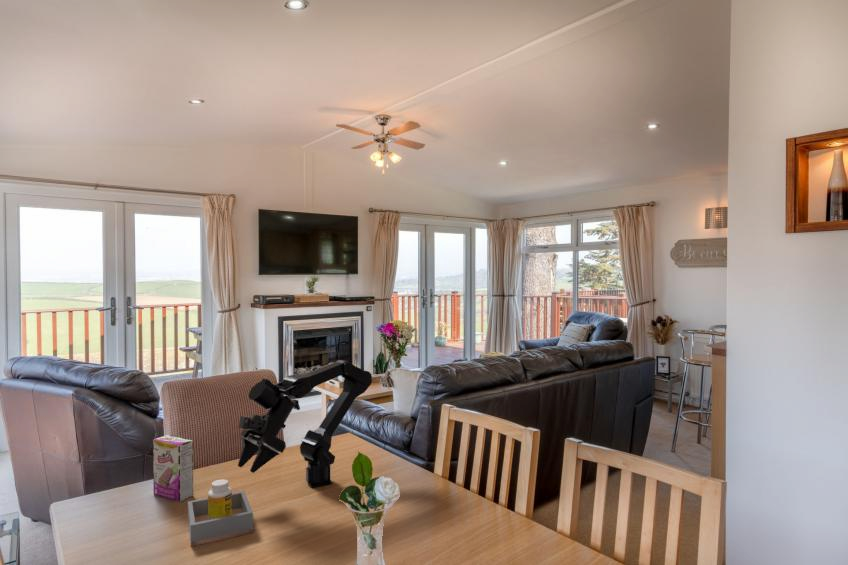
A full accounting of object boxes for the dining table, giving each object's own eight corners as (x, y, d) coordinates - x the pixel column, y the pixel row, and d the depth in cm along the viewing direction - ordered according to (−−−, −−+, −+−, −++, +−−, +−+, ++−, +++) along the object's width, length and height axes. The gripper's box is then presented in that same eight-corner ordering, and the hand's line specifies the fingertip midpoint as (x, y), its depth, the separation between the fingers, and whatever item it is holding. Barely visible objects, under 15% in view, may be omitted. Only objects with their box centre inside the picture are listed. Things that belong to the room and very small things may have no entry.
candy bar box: (152, 495, 146) (151, 439, 146) (167, 488, 151) (167, 434, 150) (179, 503, 142) (179, 444, 141) (194, 495, 146) (194, 439, 146)
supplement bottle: (227, 527, 126) (227, 486, 126) (204, 527, 126) (204, 487, 126) (234, 516, 132) (234, 477, 131) (213, 517, 131) (212, 477, 131)
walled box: (244, 509, 138) (244, 490, 138) (252, 532, 126) (252, 512, 126) (187, 520, 132) (187, 501, 131) (190, 546, 119) (190, 525, 119)
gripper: (241, 400, 148) (209, 451, 140) (266, 404, 133) (232, 461, 126) (271, 419, 153) (242, 468, 145) (299, 424, 138) (268, 480, 131)
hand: (245, 469), depth 137 cm, fingers open, 9 cm apart
